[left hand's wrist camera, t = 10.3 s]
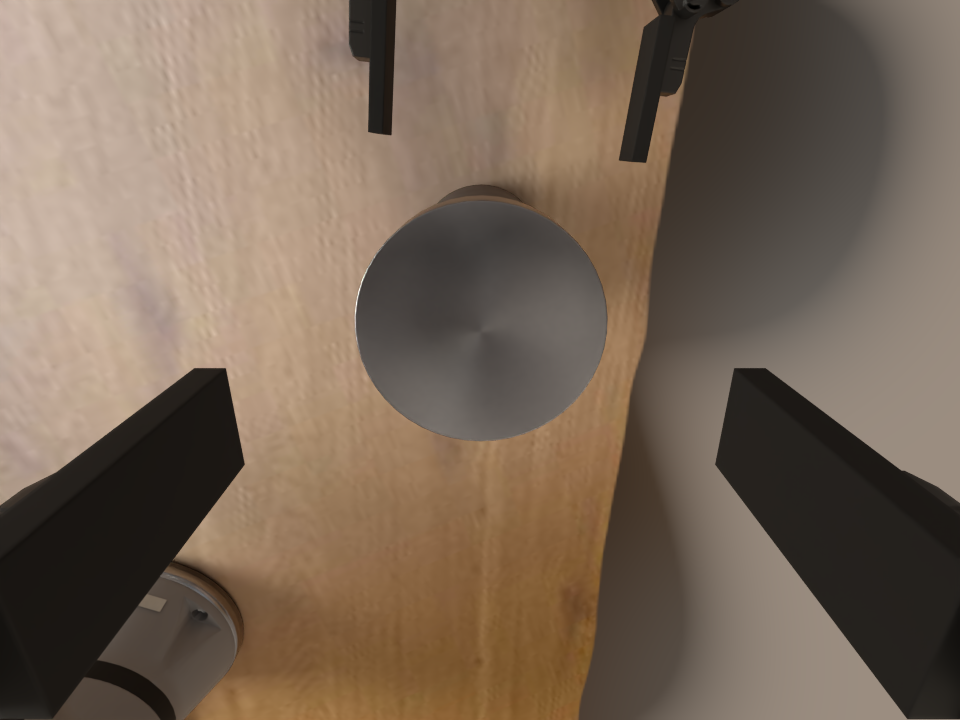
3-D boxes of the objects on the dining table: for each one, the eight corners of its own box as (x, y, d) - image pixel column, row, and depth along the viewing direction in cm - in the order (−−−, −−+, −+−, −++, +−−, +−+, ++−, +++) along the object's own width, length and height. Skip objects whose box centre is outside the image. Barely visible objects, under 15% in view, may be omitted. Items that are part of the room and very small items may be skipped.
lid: (572, 166, 19) (583, 168, 17) (611, 388, 23) (624, 412, 21) (334, 230, 20) (317, 239, 18) (406, 435, 24) (399, 462, 21)
